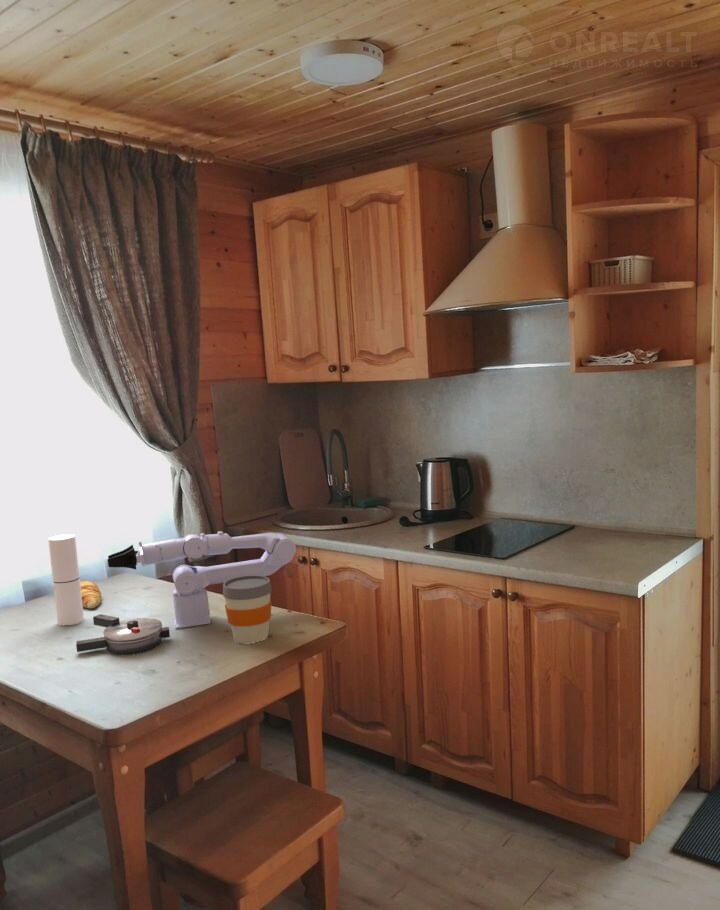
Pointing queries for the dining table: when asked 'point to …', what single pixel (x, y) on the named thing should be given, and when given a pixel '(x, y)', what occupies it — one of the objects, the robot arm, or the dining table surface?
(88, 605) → the croissant
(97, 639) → the pot
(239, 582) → the reusable coffee cup
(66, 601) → the cylindrical container
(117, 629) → the pressure cooker lid
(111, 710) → the dining table surface
